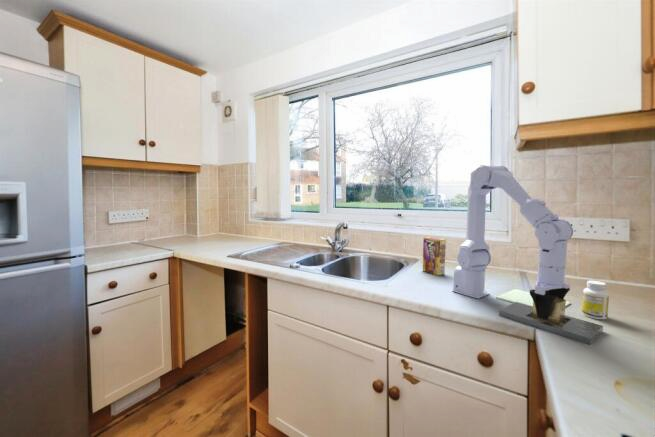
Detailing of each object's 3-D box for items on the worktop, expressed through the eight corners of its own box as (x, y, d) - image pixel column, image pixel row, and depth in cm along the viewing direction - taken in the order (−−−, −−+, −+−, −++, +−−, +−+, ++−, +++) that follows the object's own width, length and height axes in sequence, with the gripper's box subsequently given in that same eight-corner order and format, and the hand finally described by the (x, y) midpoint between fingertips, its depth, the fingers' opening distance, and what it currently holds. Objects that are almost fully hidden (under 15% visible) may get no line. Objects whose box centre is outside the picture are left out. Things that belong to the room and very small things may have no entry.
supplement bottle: (594, 312, 86) (597, 279, 85) (612, 319, 81) (615, 285, 80) (576, 312, 86) (579, 279, 85) (593, 320, 81) (596, 285, 80)
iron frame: (499, 315, 84) (499, 310, 84) (516, 306, 91) (516, 301, 90) (589, 344, 68) (590, 338, 68) (602, 331, 74) (603, 325, 74)
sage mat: (496, 298, 98) (496, 296, 98) (515, 289, 106) (515, 288, 106) (554, 314, 85) (554, 313, 85) (570, 303, 93) (570, 302, 93)
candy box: (445, 274, 126) (446, 239, 125) (438, 275, 124) (440, 240, 122) (428, 269, 133) (429, 236, 132) (422, 271, 131) (422, 237, 130)
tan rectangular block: (531, 321, 81) (533, 296, 80) (537, 317, 83) (539, 293, 82) (558, 329, 76) (560, 303, 75) (563, 325, 78) (565, 299, 77)
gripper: (560, 273, 70) (556, 327, 72) (579, 264, 79) (575, 313, 80) (527, 267, 76) (524, 317, 77) (548, 259, 84) (545, 305, 86)
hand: (548, 314), depth 79 cm, fingers open, 7 cm apart
